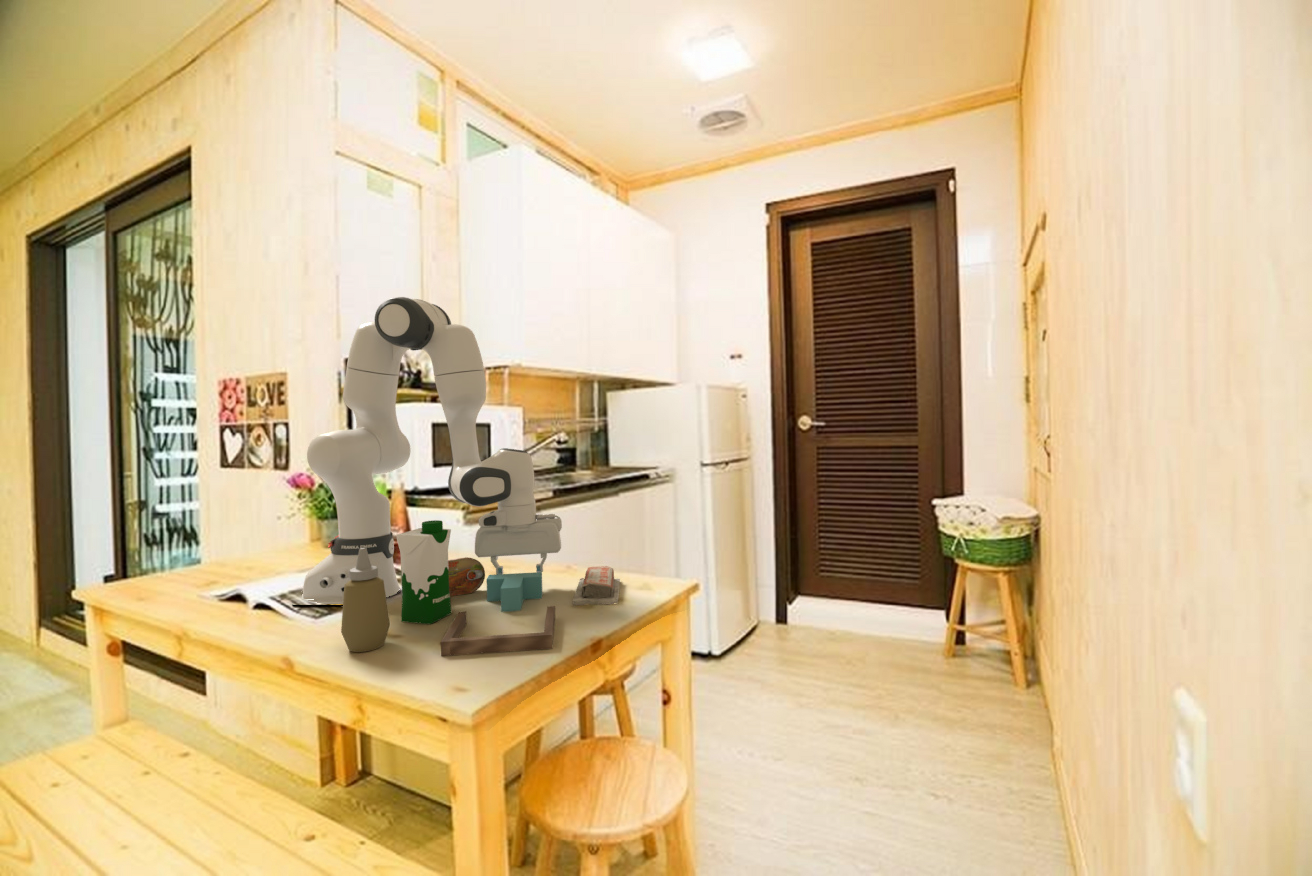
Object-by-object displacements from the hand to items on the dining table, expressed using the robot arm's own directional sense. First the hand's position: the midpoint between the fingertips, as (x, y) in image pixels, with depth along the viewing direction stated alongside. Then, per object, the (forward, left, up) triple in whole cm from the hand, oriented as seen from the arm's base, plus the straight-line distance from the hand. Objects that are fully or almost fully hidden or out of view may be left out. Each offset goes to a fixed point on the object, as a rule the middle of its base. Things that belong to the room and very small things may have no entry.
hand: (519, 573), depth 147 cm
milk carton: (-18, -18, -4) cm, 26 cm away
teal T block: (-1, -11, -4) cm, 12 cm away
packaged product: (+18, -7, -4) cm, 20 cm away
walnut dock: (-1, -31, -4) cm, 31 cm away
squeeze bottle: (-25, -33, -4) cm, 41 cm away
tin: (-16, -2, -4) cm, 16 cm away
